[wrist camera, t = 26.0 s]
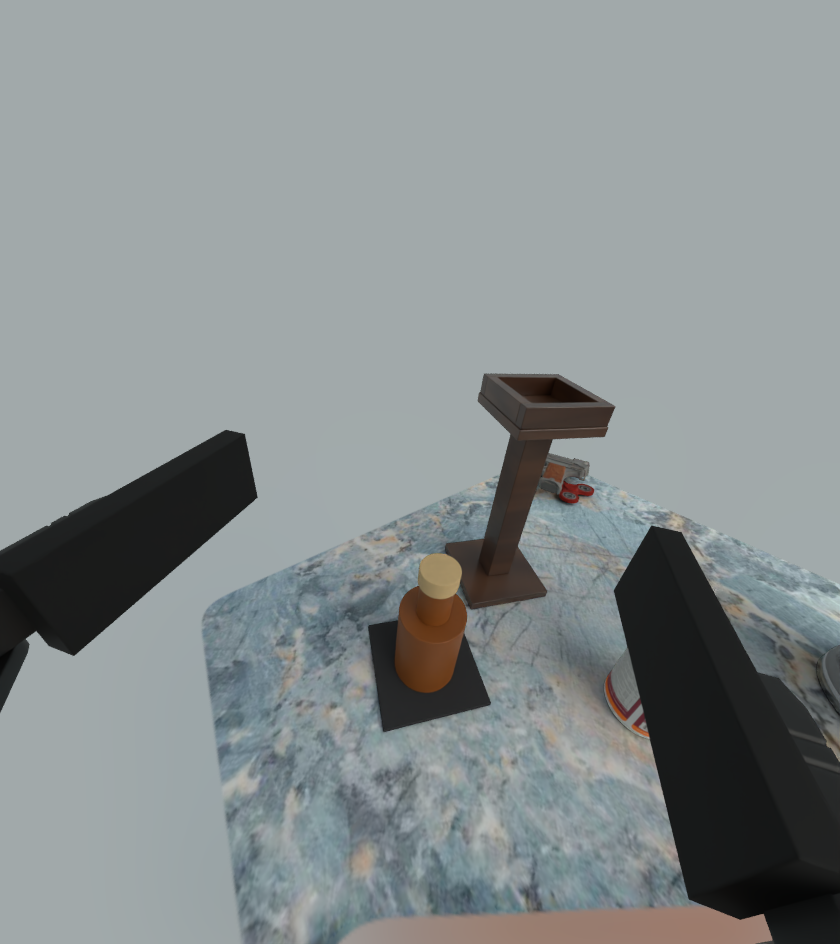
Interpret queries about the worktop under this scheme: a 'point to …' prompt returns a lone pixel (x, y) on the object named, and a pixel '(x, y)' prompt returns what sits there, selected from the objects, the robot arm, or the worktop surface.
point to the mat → (417, 707)
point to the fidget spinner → (574, 492)
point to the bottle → (430, 626)
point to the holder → (522, 477)
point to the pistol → (561, 472)
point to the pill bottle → (625, 696)
